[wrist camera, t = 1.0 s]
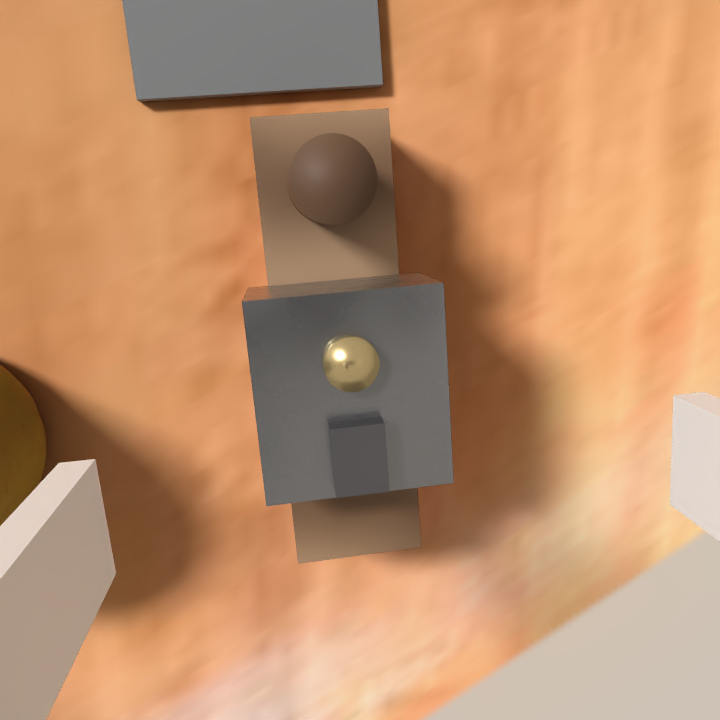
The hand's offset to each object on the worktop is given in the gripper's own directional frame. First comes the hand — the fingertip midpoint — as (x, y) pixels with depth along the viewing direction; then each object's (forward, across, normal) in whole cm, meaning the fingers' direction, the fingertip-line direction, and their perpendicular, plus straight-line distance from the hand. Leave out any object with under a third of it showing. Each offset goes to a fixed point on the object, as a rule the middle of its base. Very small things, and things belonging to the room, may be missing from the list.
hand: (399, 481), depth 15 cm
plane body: (+16, 0, +1) cm, 16 cm away
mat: (+16, -2, +15) cm, 22 cm away
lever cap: (+11, 0, 0) cm, 11 cm away
